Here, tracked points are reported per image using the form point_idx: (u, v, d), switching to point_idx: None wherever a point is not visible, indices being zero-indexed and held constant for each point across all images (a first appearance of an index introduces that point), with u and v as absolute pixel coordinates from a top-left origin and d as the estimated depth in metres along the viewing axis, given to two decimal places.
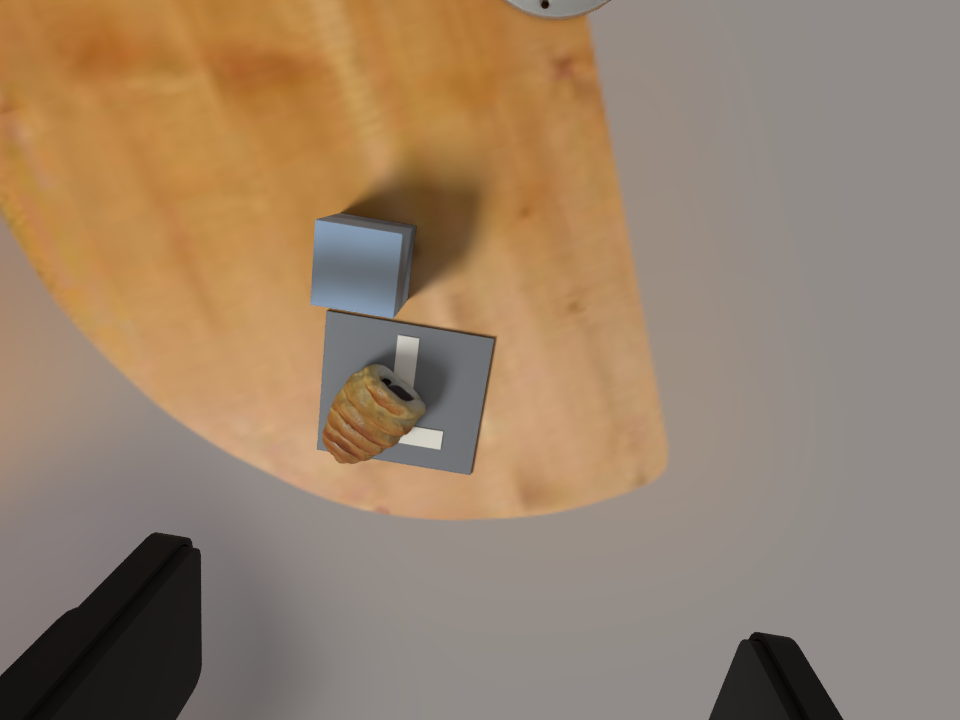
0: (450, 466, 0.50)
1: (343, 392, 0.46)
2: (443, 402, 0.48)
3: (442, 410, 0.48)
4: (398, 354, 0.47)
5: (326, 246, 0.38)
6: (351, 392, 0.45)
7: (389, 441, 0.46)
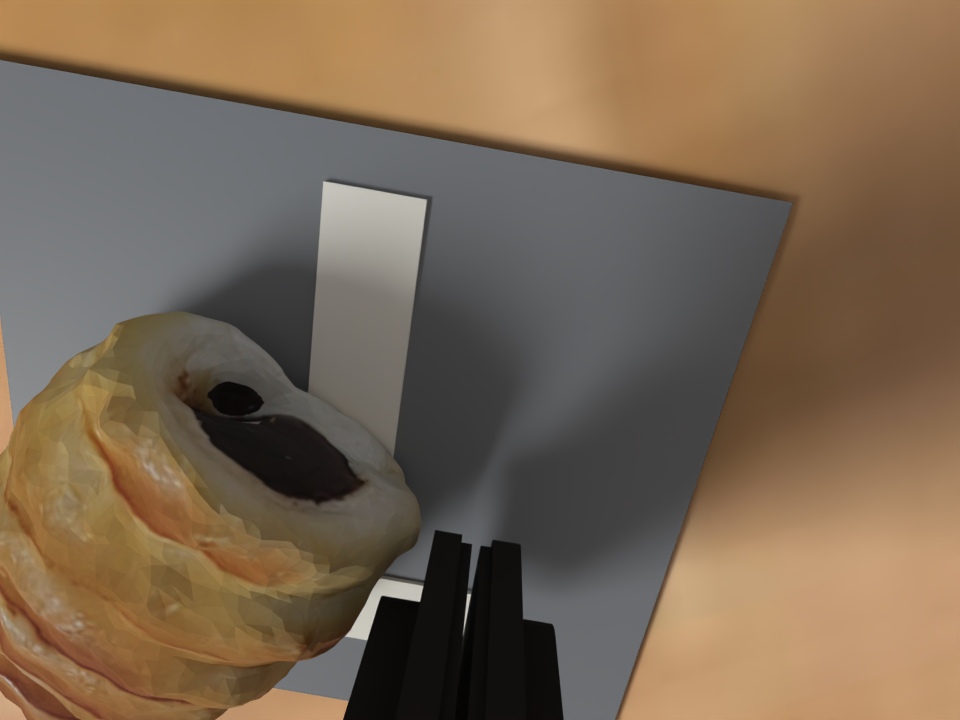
0: None
1: (8, 449, 0.09)
2: (525, 493, 0.11)
3: (517, 522, 0.12)
4: (329, 280, 0.10)
5: None
6: (20, 457, 0.08)
7: (237, 696, 0.09)
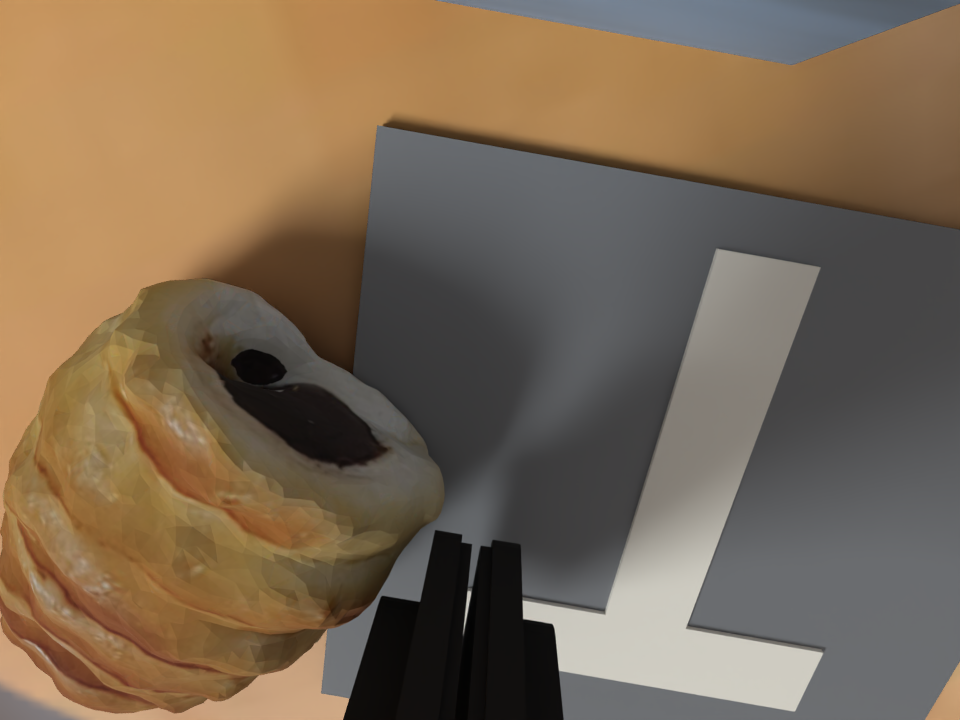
0: None
1: (38, 415, 0.09)
2: (854, 548, 0.11)
3: (839, 576, 0.12)
4: (702, 344, 0.10)
5: None
6: (48, 420, 0.08)
7: (261, 664, 0.09)
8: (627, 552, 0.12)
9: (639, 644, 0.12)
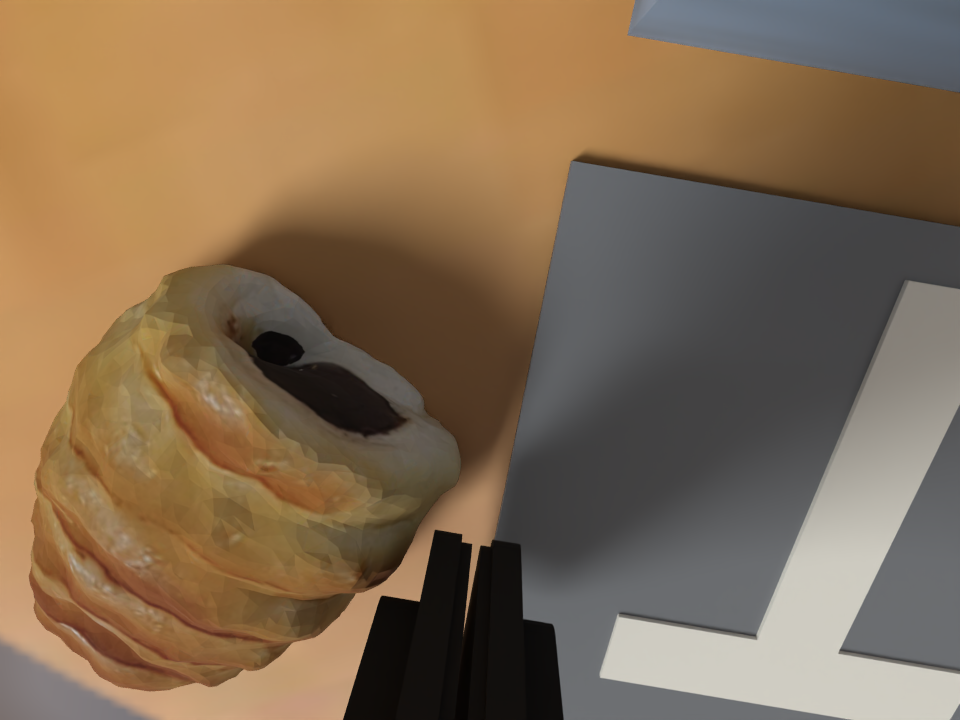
0: None
1: (68, 402, 0.09)
2: None
3: None
4: (883, 374, 0.10)
5: None
6: (82, 404, 0.09)
7: (296, 627, 0.10)
8: (785, 578, 0.12)
9: (789, 669, 0.12)
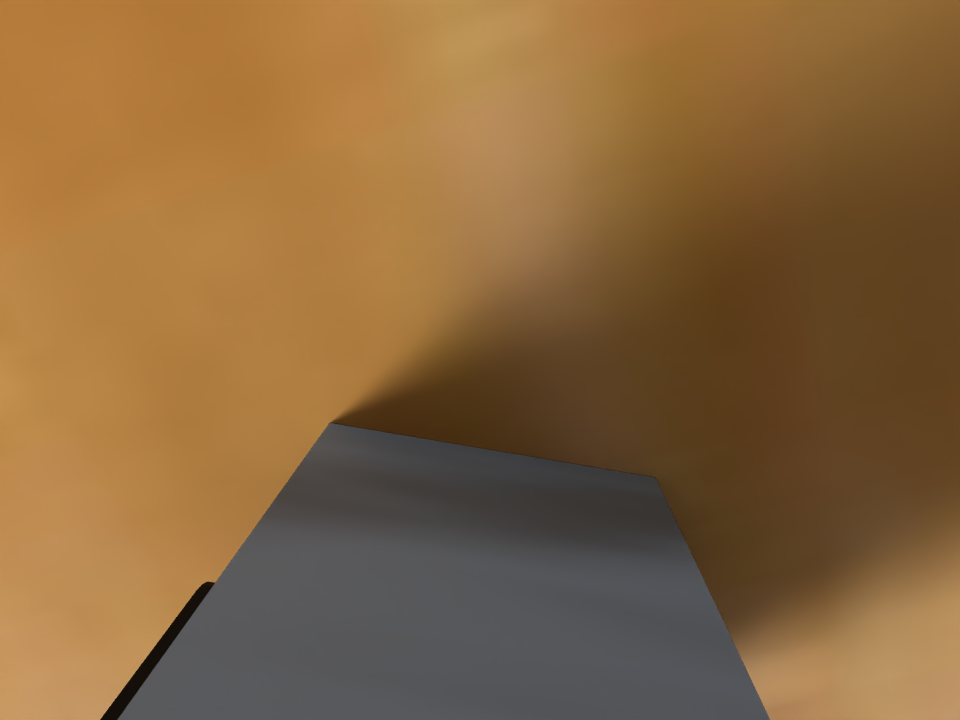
0: None
1: None
2: None
3: None
4: None
5: None
6: None
7: None
8: None
9: None
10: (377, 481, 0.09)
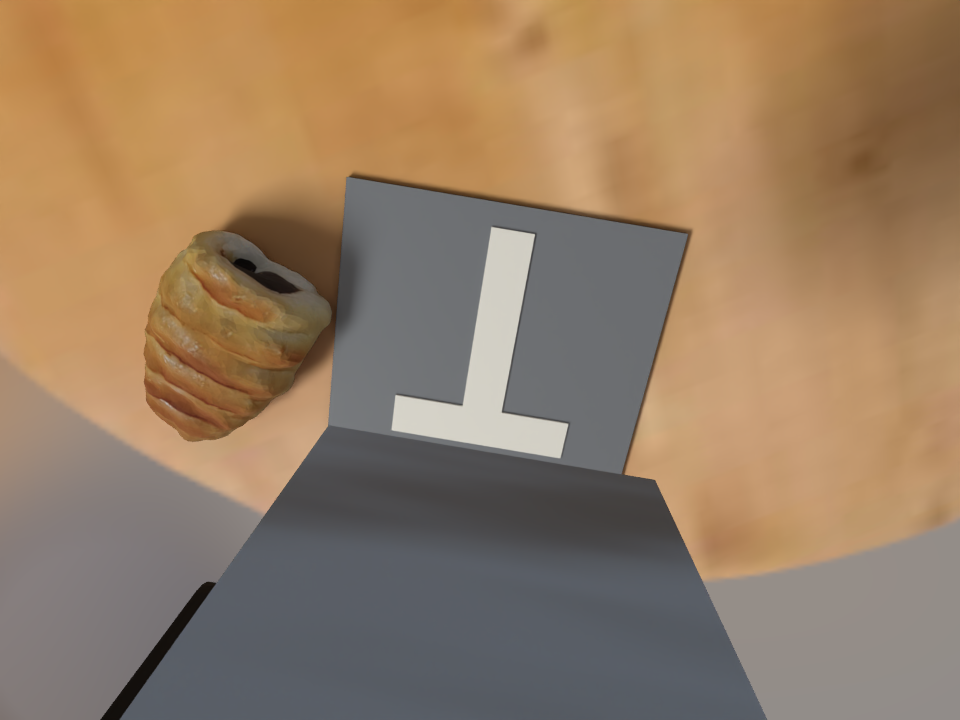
0: None
1: (158, 293, 0.23)
2: (574, 367, 0.25)
3: (569, 382, 0.25)
4: (490, 268, 0.23)
5: None
6: (166, 288, 0.22)
7: (260, 380, 0.23)
8: (469, 372, 0.25)
9: (480, 422, 0.26)
10: (376, 484, 0.09)
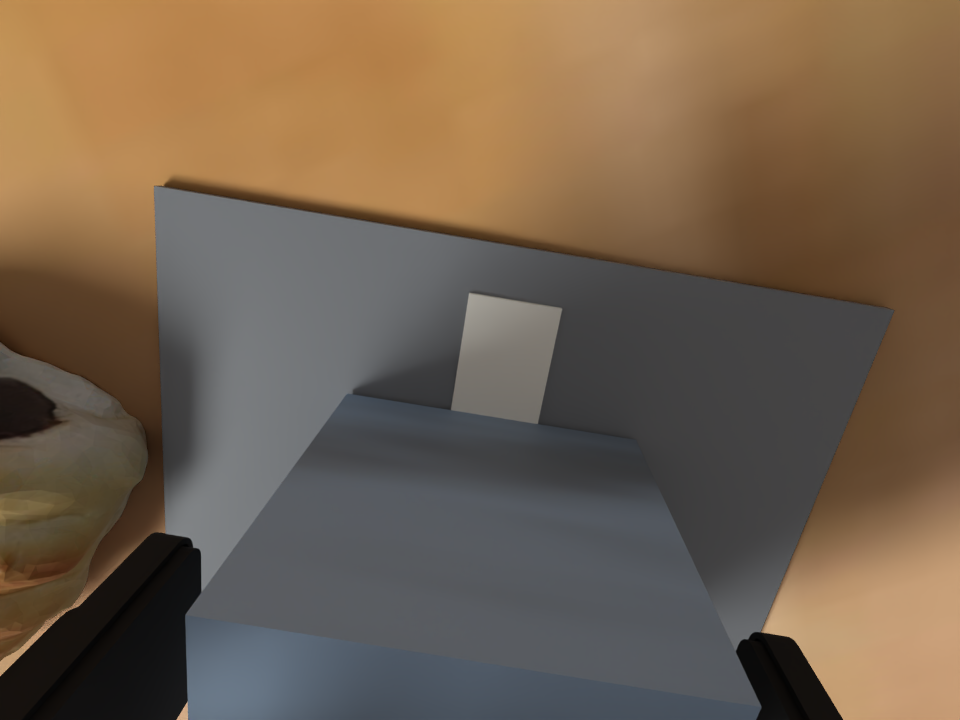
0: None
1: None
2: None
3: None
4: (468, 377, 0.11)
5: None
6: None
7: None
8: None
9: None
10: (391, 439, 0.10)
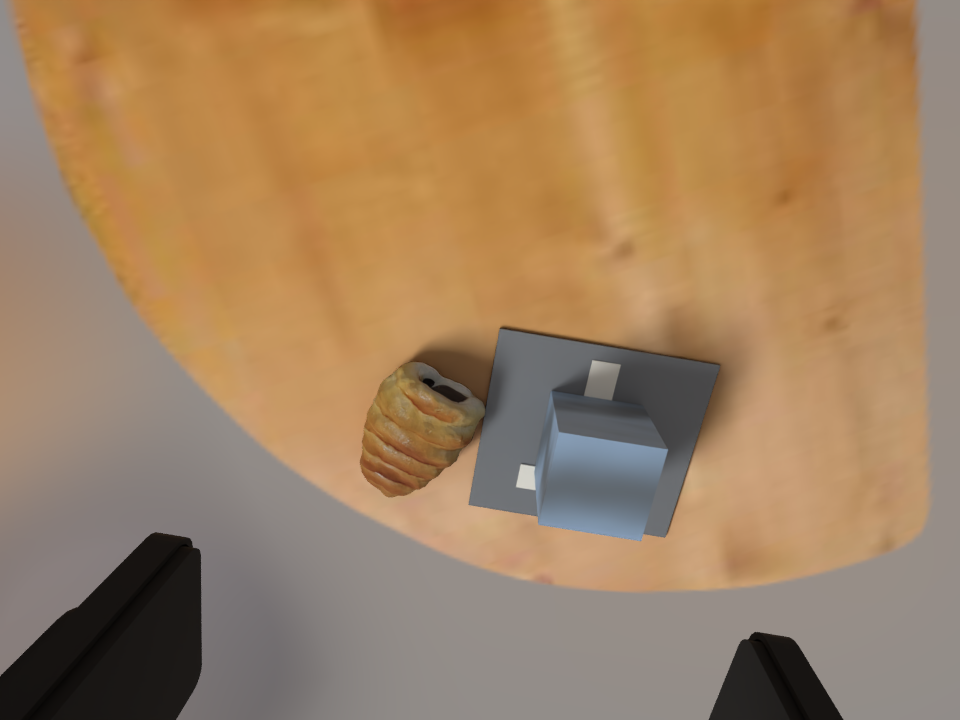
0: None
1: (376, 405, 0.35)
2: None
3: None
4: (590, 385, 0.35)
5: (568, 462, 0.31)
6: (385, 404, 0.34)
7: (446, 458, 0.35)
8: None
9: None
10: (572, 403, 0.34)
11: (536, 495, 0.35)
